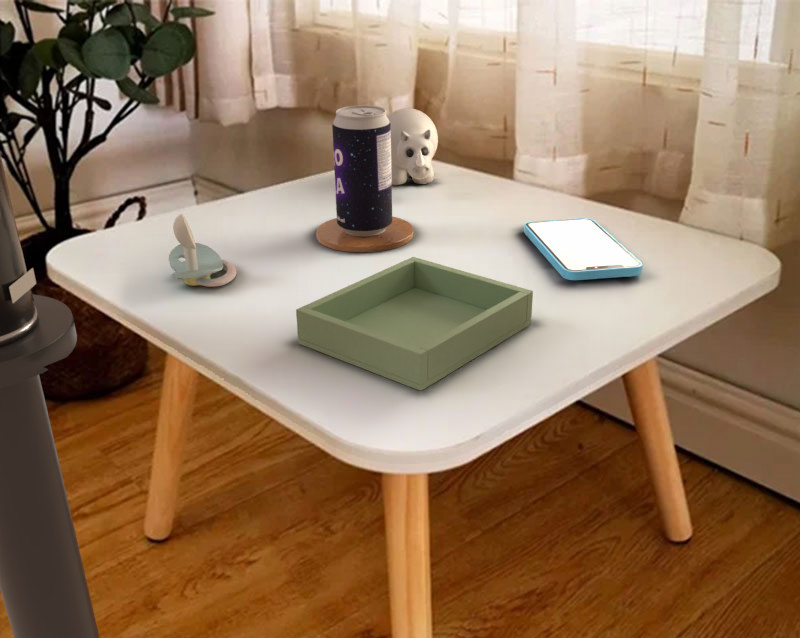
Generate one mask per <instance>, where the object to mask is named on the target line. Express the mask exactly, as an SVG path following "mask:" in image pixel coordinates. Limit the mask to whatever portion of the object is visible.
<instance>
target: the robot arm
mask: <svg viewBox="0 0 800 638" xmlns="http://www.w3.org/2000/svg"><path fill="white" fill-rule="evenodd" d="M4 168H5V167H4V163H3V159H2V154H1V153H0V347H2V346H5V345H8V344H10V343H13V342H15V341H17V340H19V339H21V338H23V337H25V336H26V335H28V334H29V333H31V332H32V331H33V330H34V329H35V328H36V326H37V325H38V322H39V318H38V313H37V309H36V307H35V305H34V299H33V294H34V293H33V292H32V289H33V287H35V285H37V280H36V275H35V270H34V267H32V268H30V269H29V270H28V271H27V266H26V262H25V258H24V253H23V249H22V244H21V240H20V235H19V230H18V226H17V222H16V217H15V213H14V209H13V204H12V199H11V195H10V190H9V186H8V181H7V178H6V177H7V176H6V171H5V169H4Z"/></svg>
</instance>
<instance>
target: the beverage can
mask: <svg viewBox="0 0 800 638" xmlns="http://www.w3.org/2000/svg"><path fill="white" fill-rule="evenodd" d="M387 116H388V115H387V110H386V109H385V107H381V106H378V105H367V104H366V105H365V104H359V105H349V106H342V107H340V108H338V109H336V110H335V118H334V120H333V121H332V122H333V123H332V125H331V128H332V129H331V131H332V145H333V147H332V148H333V166H334V167H333V168H334V188H335V189H334V191H335V211H336V218H337V224H338V225H339V226H340V227H341V228H343V229H344V230H345V232H346V233H347V234H350V235H353V236H361V237H366V236H374V235H378V234H381V233H383V232H384V231H385V229H386V228H387V227H388V226H389V225H390V224H391V223H392V217H393V188H392V185H393V184H392V176H391V124H390V121H389V120H388V118H387Z"/></svg>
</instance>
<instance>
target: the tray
mask: <svg viewBox="0 0 800 638" xmlns="http://www.w3.org/2000/svg"><path fill="white" fill-rule="evenodd" d="M533 297H534V291H533V290H531V289H527V288H525V287H521V286H517V285H514V284H510V283H507V282H503V281H500V280H496V279H492V278H489V277H486V276H482V275H479V274H475V273H471V272H468V271H465V270H461V269H458V268H454V267H451V266H447V265H444V264H441V263H437V262H433V261H430V260H426V259H423V258H419V257H416V256H412V257H409V258H408V259H405V260H402V261H400V262H398V263H396V264H394V265H391V266H389V267H388V268H387V267H386V268H385V269H382V270H381V271H379V272H375V273H374V274H372V275H369V276H367V277H365V278H363V279H361V280H358V281H355V282H354V283H351V284H350V285H347V286H345V287H343V288H341V289H338V290H337V291H333V292H332V293H330V294H329V293H328V295H325V296H323V297H321V298H319V299H318V298H317V300H314V301H312V302H310V303H307V304H305V305H303V306H301V307H299V308H297V309H295V317H296V328H297V330H296V331H297V342H298V345H301V346H304V347H306V348H308V349H312V350H314V351H317V352H319V353H322V354H325V355H327V356H330V357H333V358H335V359H337V360H340V361H342V362H345V363H348V364H350V365H352V366H355V367H358V368H360V369H363V370H366V371H368V372H371V373H373V374H376V375H379V376H381V377H384V378H386V379H389V380H391V381H394V382H397V383H399V384H401V385H404V386H406V387H409V388H412V389H413V390H414V389H415V390H417V391H420V392H422V391H423V390H425V389H427V388H429V387H430V386H431V385H433V384H435V383H436V382H439V381H441V380H442V379H443V378H446V376H448V375H450V374H452V373H453V372H454V371H457V370H458V369H459V368H461V367H463V366H464V365H467V364H468V363H469V362H471V361H473V360H475V359H476V358H478V357H479V356H481V355H482V354H484V353H486V352H488V351H490V350H491V349H493V348H494V347H495V346H498V345H499V344H501V343H503V342H504V341H505V340H508V339H509V338H511V337H512V336H514V335H515V334H517V333H519V332H521V331H522V330H524V329H525V328H527V327H529V326H530V325H532V317H533V316H532V312H533V300H534V299H533Z"/></svg>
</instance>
